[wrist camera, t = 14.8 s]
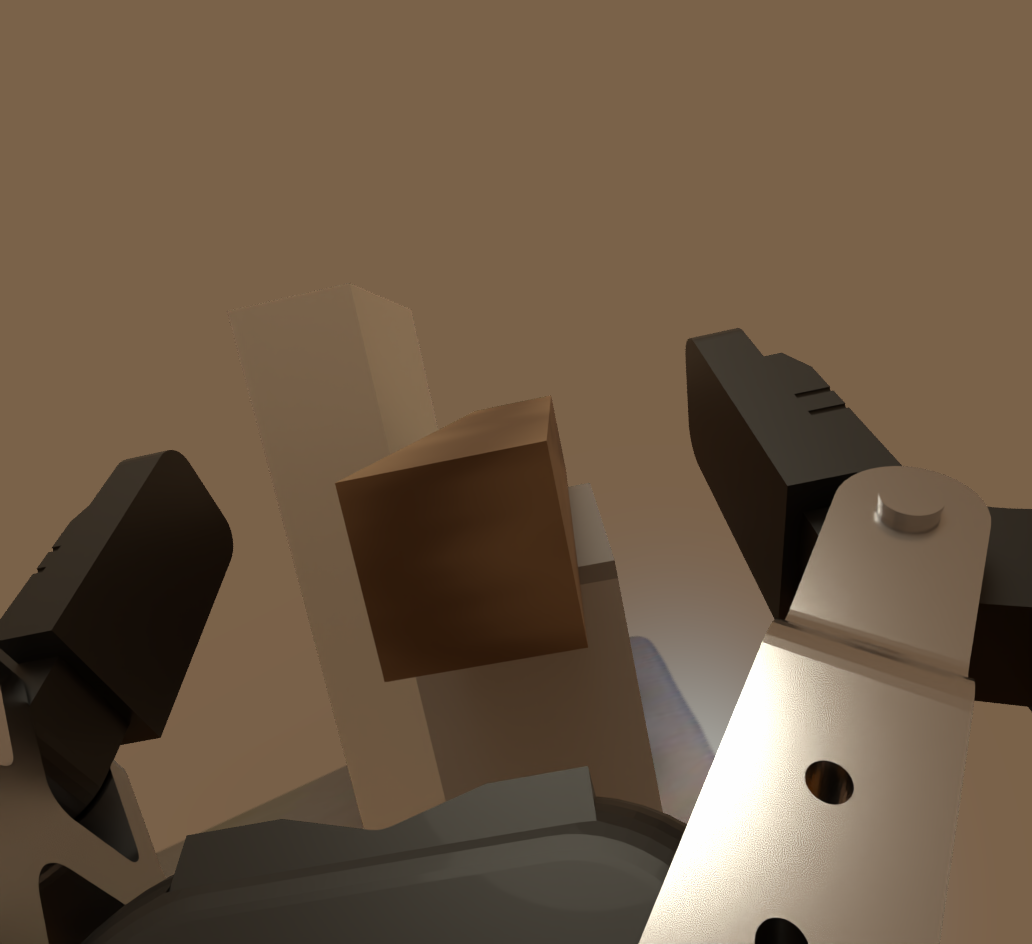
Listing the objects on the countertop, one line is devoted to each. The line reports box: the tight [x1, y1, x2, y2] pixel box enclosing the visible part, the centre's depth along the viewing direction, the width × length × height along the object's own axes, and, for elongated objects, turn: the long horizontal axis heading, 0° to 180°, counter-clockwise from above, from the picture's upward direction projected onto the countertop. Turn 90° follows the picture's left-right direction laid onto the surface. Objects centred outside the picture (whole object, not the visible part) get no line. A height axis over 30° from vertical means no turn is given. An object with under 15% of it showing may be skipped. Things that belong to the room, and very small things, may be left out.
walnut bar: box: [335, 395, 588, 682], centre depth 23 cm, size 4×22×4 cm, turn 177°
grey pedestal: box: [416, 483, 662, 812], centre depth 25 cm, size 6×12×21 cm, turn 177°
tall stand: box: [227, 283, 446, 830], centre depth 39 cm, size 7×14×32 cm, turn 177°
